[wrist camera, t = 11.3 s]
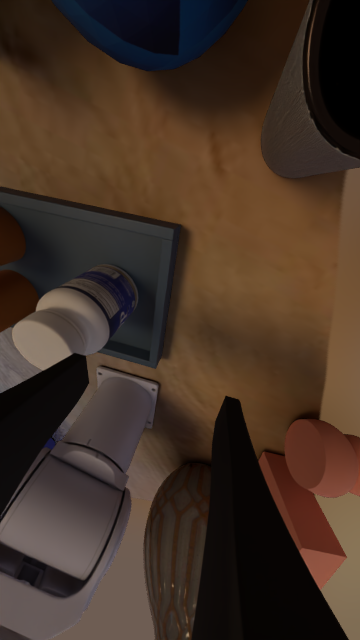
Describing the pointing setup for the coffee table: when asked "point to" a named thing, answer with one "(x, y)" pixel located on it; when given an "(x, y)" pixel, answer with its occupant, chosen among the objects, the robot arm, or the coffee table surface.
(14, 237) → the amber bottle
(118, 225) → the tray
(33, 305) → the amber bottle
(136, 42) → the bomb
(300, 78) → the grey hollow cylinder
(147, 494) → the coffee table surface
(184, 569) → the vase
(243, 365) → the coffee table surface
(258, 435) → the coffee table surface
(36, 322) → the pill bottle
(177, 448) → the coffee table surface
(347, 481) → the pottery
